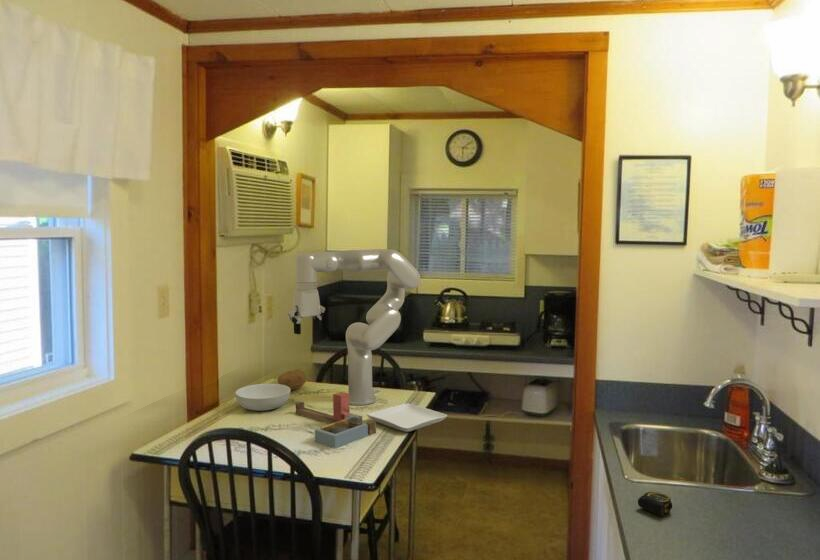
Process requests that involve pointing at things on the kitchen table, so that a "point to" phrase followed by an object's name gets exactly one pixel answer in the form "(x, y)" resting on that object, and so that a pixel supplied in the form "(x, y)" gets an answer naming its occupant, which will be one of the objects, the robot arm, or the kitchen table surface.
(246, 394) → the serving bowl
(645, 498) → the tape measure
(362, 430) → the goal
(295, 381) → the potato
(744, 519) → the kitchen table surface
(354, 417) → the toy block assembly
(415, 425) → the salad plate
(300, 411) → the rail
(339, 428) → the puck
